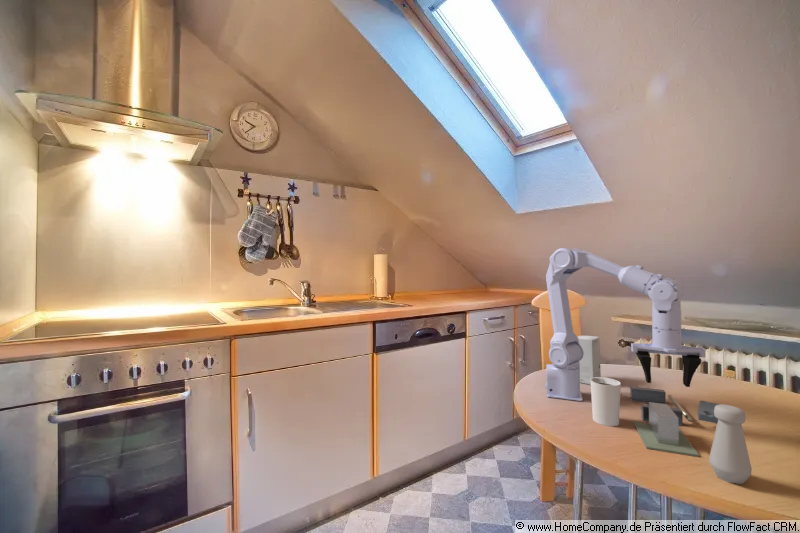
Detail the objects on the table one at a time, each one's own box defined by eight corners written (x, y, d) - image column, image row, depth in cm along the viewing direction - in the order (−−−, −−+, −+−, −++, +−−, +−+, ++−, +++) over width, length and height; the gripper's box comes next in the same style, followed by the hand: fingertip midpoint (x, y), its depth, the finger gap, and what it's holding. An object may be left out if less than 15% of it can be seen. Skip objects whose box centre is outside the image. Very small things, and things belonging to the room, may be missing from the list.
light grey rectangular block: (658, 442, 77) (658, 415, 77) (649, 427, 84) (648, 402, 84) (678, 446, 76) (678, 417, 76) (667, 429, 83) (667, 404, 83)
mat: (646, 448, 76) (646, 446, 76) (633, 423, 88) (633, 421, 88) (699, 457, 72) (699, 455, 72) (678, 429, 84) (678, 427, 84)
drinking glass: (624, 428, 85) (623, 387, 85) (592, 424, 87) (592, 384, 87) (617, 417, 91) (617, 378, 91) (588, 413, 93) (588, 376, 93)
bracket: (720, 411, 95) (720, 403, 95) (720, 426, 86) (720, 417, 86) (699, 407, 98) (699, 400, 98) (698, 421, 89) (698, 413, 89)
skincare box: (593, 386, 114) (593, 340, 114) (573, 382, 119) (573, 337, 119) (601, 379, 120) (600, 336, 120) (582, 376, 125) (581, 333, 125)
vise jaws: (643, 420, 89) (643, 406, 89) (630, 398, 104) (630, 386, 104) (693, 427, 85) (692, 412, 85) (672, 403, 100) (672, 390, 100)
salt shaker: (700, 469, 68) (699, 401, 68) (728, 467, 68) (727, 400, 68) (731, 488, 62) (731, 414, 62) (761, 486, 62) (760, 412, 62)
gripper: (635, 329, 86) (635, 385, 86) (710, 333, 80) (711, 393, 80) (629, 324, 92) (629, 376, 93) (698, 327, 87) (699, 383, 87)
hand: (667, 383), depth 87 cm, fingers open, 7 cm apart
